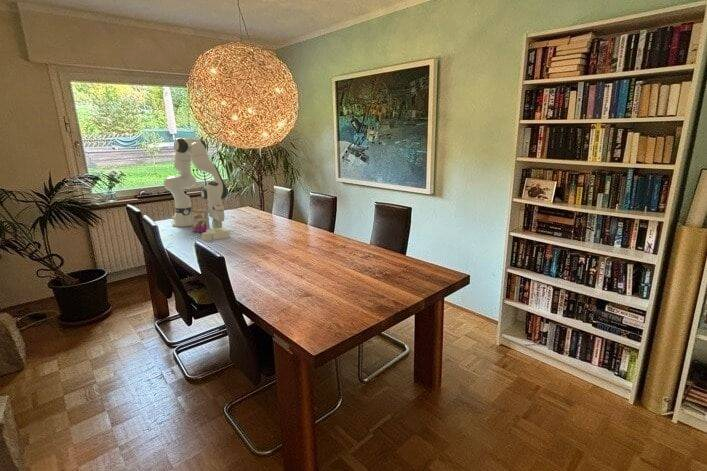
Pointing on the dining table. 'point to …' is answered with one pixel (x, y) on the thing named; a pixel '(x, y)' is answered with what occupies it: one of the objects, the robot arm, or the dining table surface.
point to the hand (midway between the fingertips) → (217, 225)
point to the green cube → (214, 224)
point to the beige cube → (206, 236)
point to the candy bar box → (200, 220)
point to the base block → (219, 233)
